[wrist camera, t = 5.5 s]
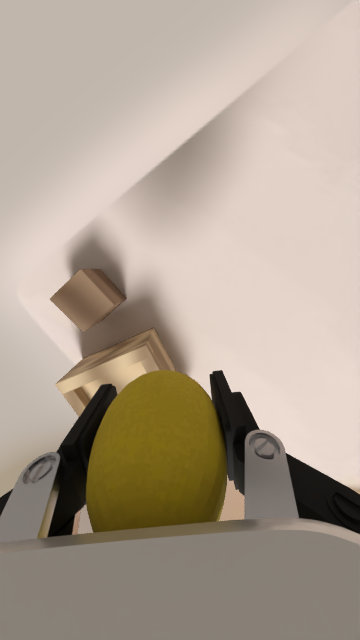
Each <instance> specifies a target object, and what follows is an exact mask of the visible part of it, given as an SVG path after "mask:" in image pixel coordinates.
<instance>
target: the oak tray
mask: <svg viewBox="0 0 360 640" xmlns="http://www.w3.org/2000/svg"><path fill="white" fill-rule="evenodd" d="M157 370H171V371H176V370H175V368H174V366H173V364H172V362H171V360H170V358H169V356H168V354H167V352H166V350H165V348H164V346H163V345H162V343H161V341H160V339H159V337H158V335H157V333H156V331H155V329H154V328H152V329H150V330H148V331H145V332H143V333H141V334H139V335H136V336H134V337H132V338H129V339H127V340H125V341H123V342H120V343H118V344H116V345H114V346H111V347H109V348H107V349H105V350H102V351H100V352H98V353H95V354H93V355H91V356H89V357H86V358H84V359H82V360H81V361H80V362H79V363H78V364H77V365H76V366H75V367H74V368H72V369H71V370H70V371H69V372H68V373H67V374H66V375H65V376H64V377H63V378H61V379H60V380H59V381H58V382H57V383H56V384H55V385H56V386H57V388H58V389H59V390H60V392H61V393H62V394H63V396H64V397H65V398H66V400H67V401H68V403H69V404H70V405H71V407H72V408H73V409H74V411H75V412H76V414H77V415H78V416H79V417H80V415H81V414H82V412H83V411H84V409H85V408H86V406H87V405H88V403H89V402H90V400H91V399H92V397H93V396H94V394H95V393H96V391H97V390H98V389H99V387H100V386H101V385H102V384H112V385H113V386H115V387H116V390H117V394H119V393H120V392H121V391H122V390H123V388H124V387H125V386H126V385H127V384H128V383H130V382H132V381H133V380H135V379H136V378H138V377H139V376H141V375H143V374H146V373H149V372H152V371H157Z"/></svg>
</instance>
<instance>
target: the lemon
mask: <svg viewBox="0 0 360 640" xmlns="http://www.w3.org/2000/svg"><path fill="white" fill-rule="evenodd" d="M226 486H227V455H226V447H225V439H224V433H223V429H222V425H221V421H220V418H219V415H218V413H217V411H216V408H215V406H214V404H213V402H212V400H211V398H210V397H209V395H208V394H207V392H206V391H205V390H204V389H203V388H202V387H201V386H200V385H199V384H198V383H197V382H196V381H195V380H193V379H192V378H190V377H189V376H187V375H185V374H182V373H179V372H177V371H171V370H157V371H152V372H149V373H146V374H143V375H141V376H139V377H138V378H136V379H135V380H133V381H132V382H130V383H128V384H127V385H126V386H125V387H124V388H123V390H122V391H121V392H120V393H119V394H118V395H117V396H116V397H115V399H114V400H113V401H112V403H111V404H110V406H109V407H108V409H107V411H106V413H105V415H104V417H103V420H102V422H101V424H100V426H99V428H98V431H97V433H96V436H95V439H94V442H93V446H92V450H91V454H90V459H89V465H88V472H87V483H86V504H87V511H88V515H89V519H90V522H91V526H92V529H93V533H97V532H107V531H118V530H128V529H139V528H150V527H160V526H172V525H183V524H195V523H206V522H217V521H219V519H220V515H221V512H222V509H223V504H224V499H225V492H226Z"/></svg>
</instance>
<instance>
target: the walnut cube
mask: <svg viewBox="0 0 360 640" xmlns="http://www.w3.org/2000/svg"><path fill="white" fill-rule="evenodd" d="M125 299H126V297H125V296H124V295H123V294H122V293H121V292H120V291H119V289H118V288H117V287H116V286H115V285H114V284H113V283H112V282H111V281H110V280H109V278H108V277H107V276H106V275H105V274H104V273H103V272H102V271H101V270H100V269H80V270H79V271H78V272H77V273H76V274H75V275H74V276H73V277H72V278H71V279H70V280H69V281H68V282H67V283H66V284H65V285H64V286H62V287H61V288H60V289H59V290H58V291H57V292H56V293H55V294H54V295H53V296H52V297H51V298H50V300H51V301H52V302H53V303H54V304H55V305H56V306H57V307H58V308H59V309H60V310H61V311H62V312H63V313H64V314H65V315H66V316H67V317H68V318H69V319H70V320H71V321H72V322H73V323H74V324H75V325H76V326H77V327H78V328H80V329H81V330H82V331H83V332H85V331H86V330H88V329H89V328H91V327H92V326H94V325H95V324H97V323H98V322H100V321H101V320H103V319H104V318H105V317H106V316H107V315H108V314H109V313H111V312H112V311H113V310H114V309H115V308H116V307H117V306H119V305H120V304H121V303H122V302H123V301H124V300H125Z"/></svg>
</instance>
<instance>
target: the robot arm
mask: <svg viewBox="0 0 360 640" xmlns="http://www.w3.org/2000/svg"><path fill="white" fill-rule="evenodd" d="M210 384H211V395H212V402H213V404H214V406H215V408H216V411H217V413H218V415H219V418H220V421H221V425H222V429H223V433H224V439H225V447H226V455H227V474H228V478H229V480H230V481H232V480H234V484H235V488H236V490H237V489H239V492H240V493H242V494H243V495H244V496H245V520H230V521H217V522H206V523H195V524H183V525H172V526H160V527H150V528H139V529H128V530H118V531H107V532H97V533H86V534H78V528H79V521H80V513H81V512H80V511H81V508H83V506H84V505H85V504H86V483H87V472H88V465H89V459H90V454H91V450H92V446H93V442H94V439H95V436H96V433H97V431H98V428H99V426H100V424H101V422H102V420H103V417H104V415H105V413H106V411H107V409H108V407H109V406H110V404H111V403H112V401H113V400H114V399H115V397H116V396H117V395H118V394H117V390H116V387H115V386H113V385H112V384H102V385H101V386H100V387H99V389H98V390H97V391H96V393H95V394H94V396H93V397H92V399H91V400H90V402H89V403H88V405H87V406H86V408H85V409H84V411H83V412H82V414H81V415H80V417H79V418H78V420H77V421H76V423H75V424H74V426H73V427H72V429H71V430H70V432H69V433H68V435H67V436H66V438H65V439H64V441H63V442H62V443H61V445H60V447H59V449H58V450H57V452H50V453H46V454H44V455H42V456H39V457H38V458H36V459H35V460H33V461H32V462H31V463H30V464H29V465H28V466H27V467H26V468H25V469H24V470H23V472H22V473H21V475H20V476H19V478H18V480H17V482H16V484H15V487H14V488H13V489H12V490H11V491H9V492H8V493H6V494H5V495H3V496H2V497H1V498H0V640H360V494H358V493H357V492H355V491H353V490H352V489H350V488H349V487H347V486H345V485H343V484H341V483H339V482H338V481H336V480H334V479H332V478H330V477H329V476H327V475H325V474H323V473H321V472H319V471H318V470H316V469H314V468H312V467H310V466H309V465H307V464H305V463H303V462H301V461H300V460H298V459H296V458H294V457H292V456H290V455H289V454H287V453H285V448H284V446H283V443H282V442H281V441H280V439H279V438H278V437H276V436H275V435H274V434H272V433H270V432H268V431H264V430H260V429H259V427H258V425H257V423H256V421H255V419H254V417H253V415H252V413H251V411H250V409H249V407H248V405H247V403H246V401H245V399H244V397H243V395H242V394H241V392H233V393H232V392H231V390H230V388H229V385H228V383H227V381H226V378H225V376H224V374H223V371H222V370H220V371H213V374H210Z"/></svg>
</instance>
